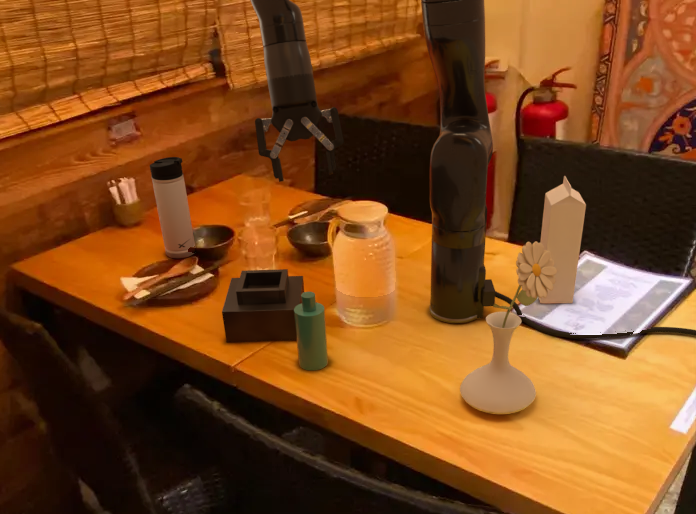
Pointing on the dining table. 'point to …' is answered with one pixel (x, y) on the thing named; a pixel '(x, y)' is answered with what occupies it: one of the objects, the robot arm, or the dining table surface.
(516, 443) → the dining table surface
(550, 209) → the milk
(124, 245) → the dining table surface
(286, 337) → the condiment stand
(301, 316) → the sauce bottle
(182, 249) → the travel mug
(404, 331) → the dining table surface
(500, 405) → the flower in vase
